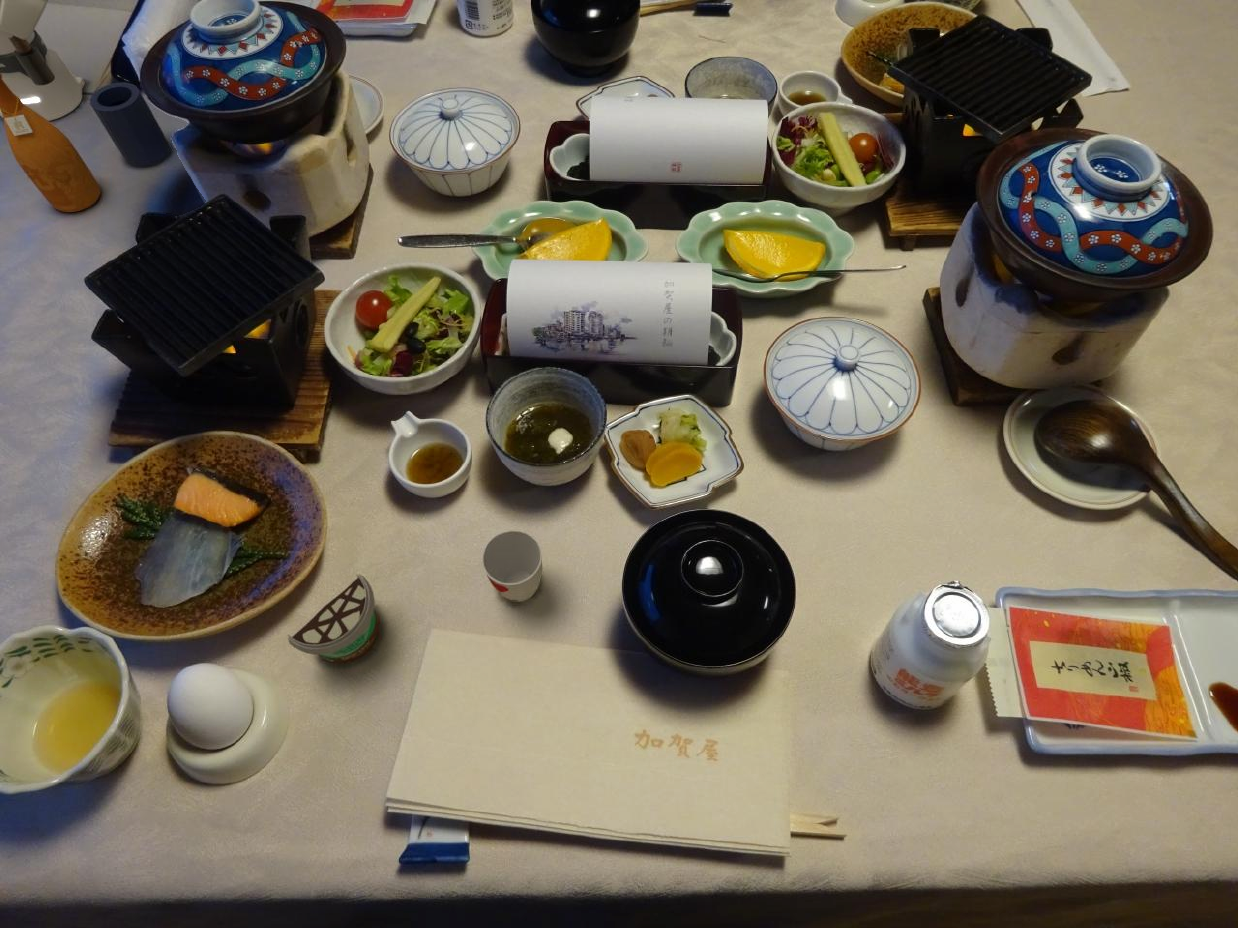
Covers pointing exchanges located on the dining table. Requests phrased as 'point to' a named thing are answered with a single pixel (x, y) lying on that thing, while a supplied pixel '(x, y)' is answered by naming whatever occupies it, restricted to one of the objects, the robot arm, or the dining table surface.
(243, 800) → the dining table surface
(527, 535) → the cup
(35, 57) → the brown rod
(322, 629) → the food container
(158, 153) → the dark gray hollow cylinder
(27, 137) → the wine bottle
